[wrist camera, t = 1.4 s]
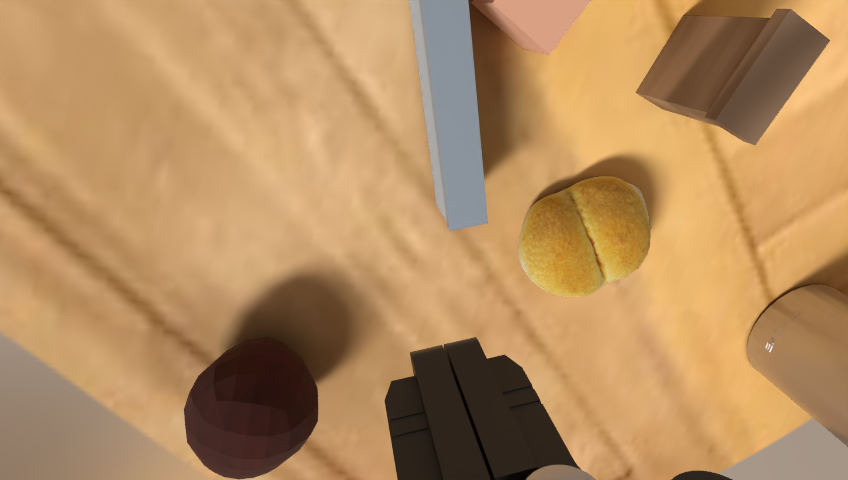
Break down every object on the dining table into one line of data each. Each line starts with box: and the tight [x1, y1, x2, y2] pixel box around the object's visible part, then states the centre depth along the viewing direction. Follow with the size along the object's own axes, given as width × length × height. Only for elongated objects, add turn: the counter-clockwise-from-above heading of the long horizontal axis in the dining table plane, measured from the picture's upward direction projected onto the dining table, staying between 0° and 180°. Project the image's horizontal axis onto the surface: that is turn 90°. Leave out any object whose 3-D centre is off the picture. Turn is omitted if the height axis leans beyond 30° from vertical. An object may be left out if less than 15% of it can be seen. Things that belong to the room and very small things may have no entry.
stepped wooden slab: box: [636, 9, 830, 145], centre depth 28 cm, size 3×6×8 cm, turn 153°
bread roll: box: [518, 176, 651, 297], centre depth 34 cm, size 8×9×4 cm
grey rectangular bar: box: [409, 0, 488, 231], centre depth 28 cm, size 14×2×4 cm, turn 8°
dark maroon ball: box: [184, 338, 318, 479], centre depth 32 cm, size 8×9×8 cm
